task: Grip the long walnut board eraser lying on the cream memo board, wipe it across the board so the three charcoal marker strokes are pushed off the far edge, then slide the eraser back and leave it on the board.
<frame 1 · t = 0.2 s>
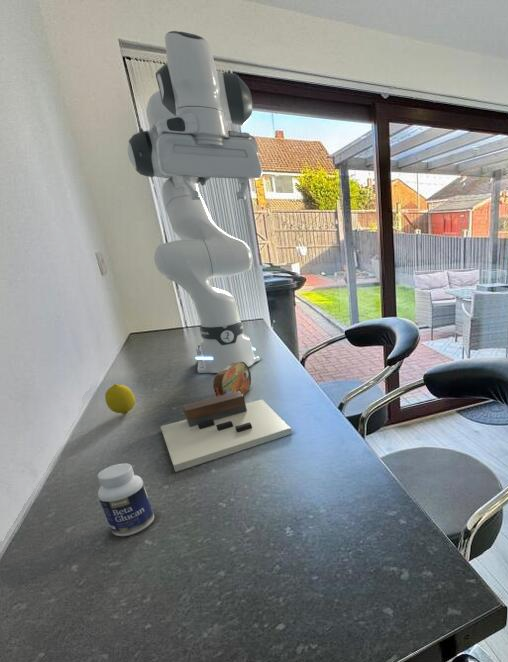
hand: (219, 200, 89), 48 cm above the breakfast bar, tool pointing down, fingers open, 8 cm apart
eraser: (217, 416, 92), point 1 cm above the breakfast bar, touching memo board
tin: (236, 397, 106), on the breakfast bar
stroke 3: (244, 429, 85), point 1 cm above the breakfast bar, touching memo board
pill bottle: (134, 525, 61), on the breakfast bar
stroke 1: (206, 426, 87), point 1 cm above the breakfast bar, touching memo board
lemon: (125, 414, 97), on the breakfast bar
stroke 2: (225, 427, 86), point 1 cm above the breakfast bar, touching memo board
memo board: (226, 433, 87), on the breakfast bar
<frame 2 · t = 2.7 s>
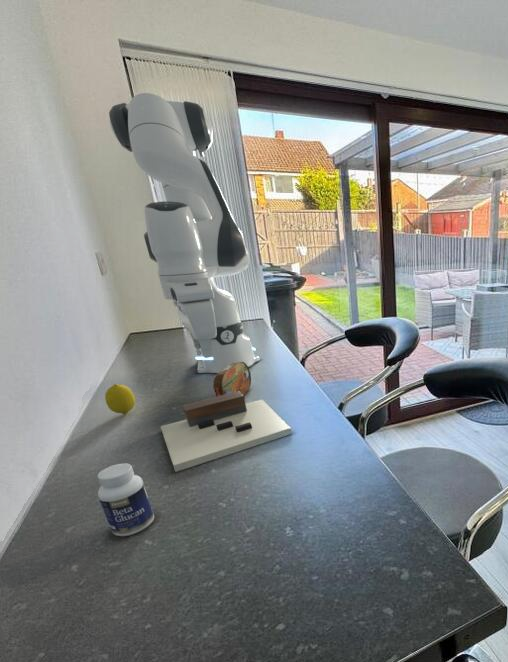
hand: (203, 352, 86), 17 cm above the breakfast bar, tool pointing down, fingers open, 8 cm apart
nothing on the breakfast bar moved.
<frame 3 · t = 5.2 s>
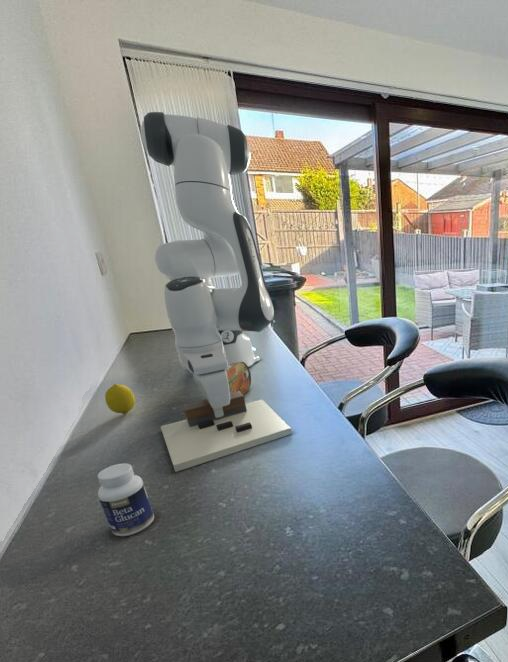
hand: (216, 412, 91), 3 cm above the breakfast bar, tool pointing down, fingers closed on eraser, 4 cm apart
eraser: (217, 416, 92), point 1 cm above the breakfast bar, touching gripper, memo board
everything else where it was.
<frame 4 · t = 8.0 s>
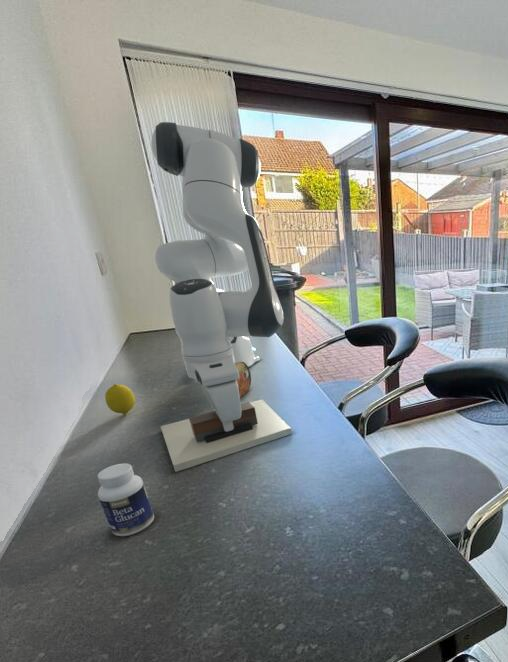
hand: (225, 425, 84), 3 cm above the breakfast bar, tool pointing down, fingers closed on eraser, 4 cm apart
eraser: (226, 429, 85), point 2 cm above the breakfast bar, touching gripper, stroke 3
stroke 3: (244, 430, 85), point 2 cm above the breakfast bar, touching eraser
stroke 1: (214, 439, 81), point 1 cm above the breakfast bar, touching memo board
stroke 2: (229, 434, 83), point 2 cm above the breakfast bar
everything else where it was.
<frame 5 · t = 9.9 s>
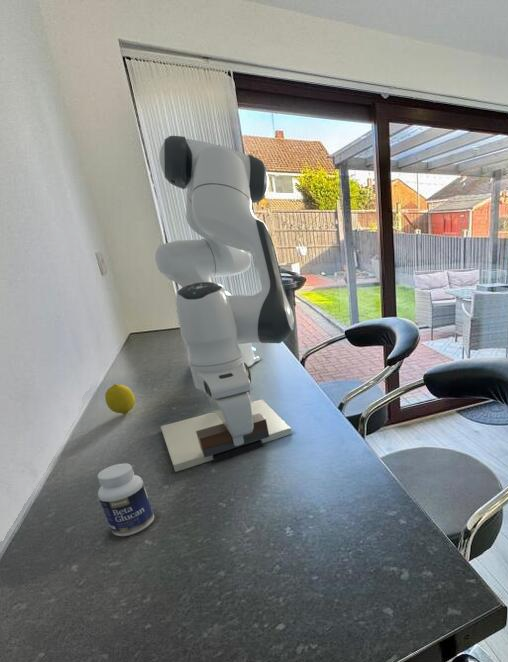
hand: (235, 438, 79), 3 cm above the breakfast bar, tool pointing down, fingers closed on eraser, 4 cm apart
eraser: (235, 442, 79), point 2 cm above the breakfast bar, touching gripper
stroke 3: (253, 444, 81), point 1 cm above the breakfast bar, tilted 90°
stroke 1: (221, 454, 78), point 1 cm above the breakfast bar, tilted 90°
stroke 2: (237, 449, 79), point 1 cm above the breakfast bar, tilted 90°
everything else where it was.
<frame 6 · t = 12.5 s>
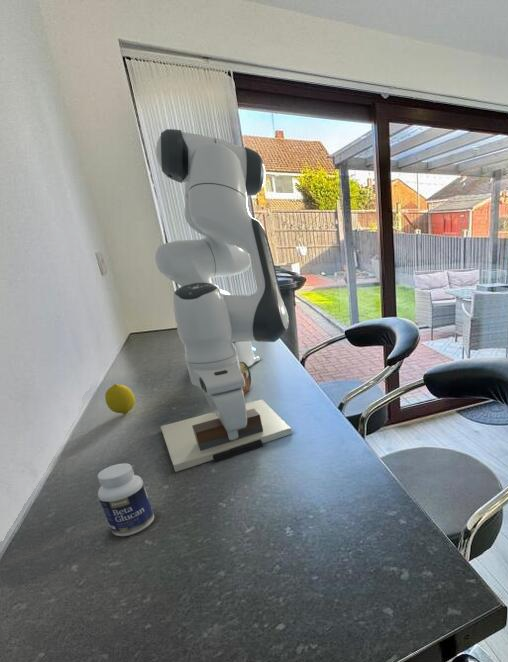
hand: (230, 433, 82), 2 cm above the breakfast bar, tool pointing down, fingers closed on eraser, 4 cm apart
eraser: (230, 437, 82), point 2 cm above the breakfast bar, touching gripper
everything else where it was.
when the fingers open (2 cm above the breakfast bar, at t = 14.2 s): eraser stays where it is, resting on memo board.
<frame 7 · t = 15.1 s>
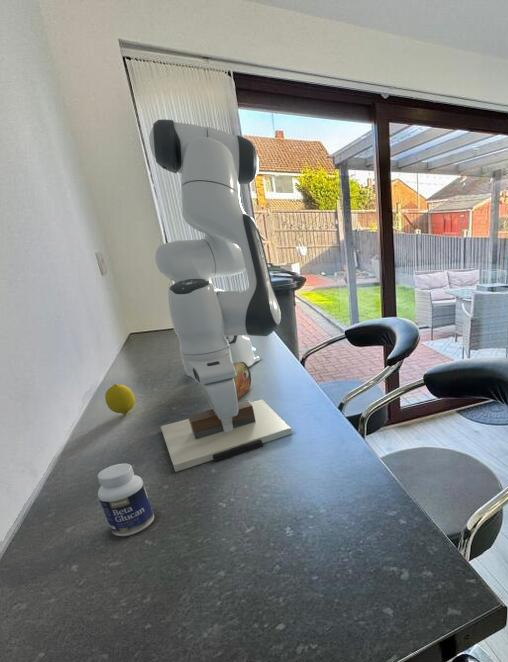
hand: (223, 422, 86), 3 cm above the breakfast bar, tool pointing down, fingers open, 8 cm apart
eraser: (224, 426, 86), point 1 cm above the breakfast bar, touching memo board
everything else where it was.
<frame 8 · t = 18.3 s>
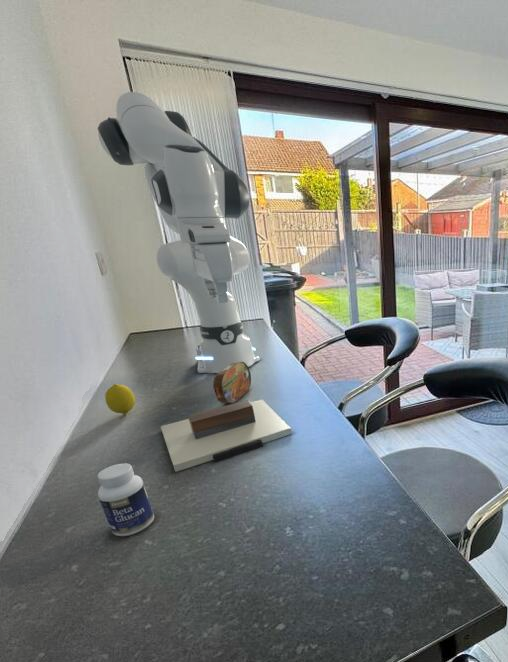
hand: (218, 299, 88), 27 cm above the breakfast bar, tool pointing down, fingers open, 8 cm apart
nothing on the breakfast bar moved.
at the end: stroke 1 point 0.6 cm above the breakfast bar; stroke 2 point 0.6 cm above the breakfast bar; stroke 3 point 0.6 cm above the breakfast bar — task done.
